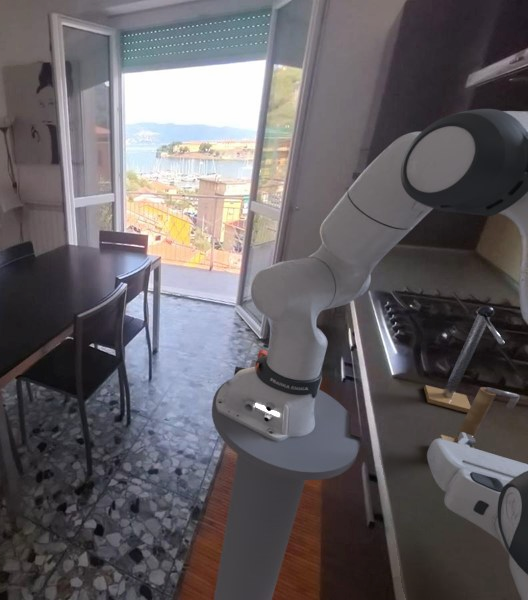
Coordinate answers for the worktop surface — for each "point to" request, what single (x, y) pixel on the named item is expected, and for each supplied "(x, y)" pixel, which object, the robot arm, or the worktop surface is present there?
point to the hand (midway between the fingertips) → (503, 447)
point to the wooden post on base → (481, 410)
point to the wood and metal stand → (463, 365)
